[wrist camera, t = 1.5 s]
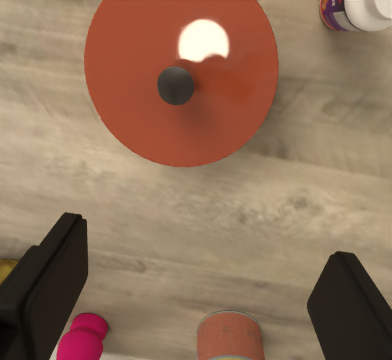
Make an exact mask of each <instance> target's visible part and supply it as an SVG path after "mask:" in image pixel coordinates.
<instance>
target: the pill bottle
mask: <svg viewBox="0 0 392 360" xmlns="http://www.w3.org/2000/svg"><path fill="white" fill-rule="evenodd" d="M319 11H320V15H321V18H322V20H323V21H324V23H325V24H326V25H327V26H328V27H330V28H331V29H334V30H337V31H360V32H374V31H381V30H384V29H387V28H389V27H392V0H320V1H319Z"/></svg>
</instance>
